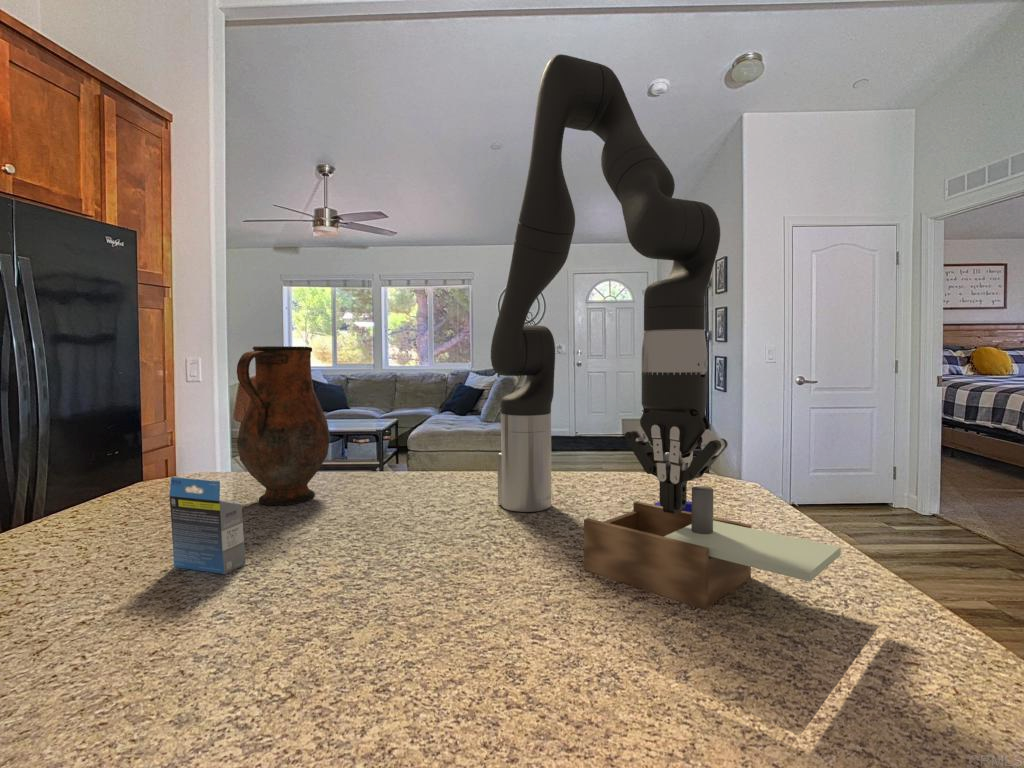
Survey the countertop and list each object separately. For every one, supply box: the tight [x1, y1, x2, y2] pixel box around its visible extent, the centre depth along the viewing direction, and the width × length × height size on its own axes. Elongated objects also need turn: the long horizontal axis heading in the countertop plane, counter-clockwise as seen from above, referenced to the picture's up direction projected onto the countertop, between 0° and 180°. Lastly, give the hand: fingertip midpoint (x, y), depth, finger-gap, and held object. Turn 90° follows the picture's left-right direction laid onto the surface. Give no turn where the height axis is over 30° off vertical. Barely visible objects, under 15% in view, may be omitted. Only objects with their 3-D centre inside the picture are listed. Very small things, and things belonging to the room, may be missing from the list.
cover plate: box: [664, 485, 842, 583], centre depth 62 cm, size 15×10×6 cm, turn 45°
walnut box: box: [583, 501, 752, 611], centre depth 70 cm, size 16×12×7 cm
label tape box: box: [169, 475, 246, 575], centre depth 75 cm, size 9×4×12 cm, turn 71°
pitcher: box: [236, 345, 331, 506], centre depth 108 cm, size 17×21×30 cm
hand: (673, 511), depth 68 cm, fingers closed
